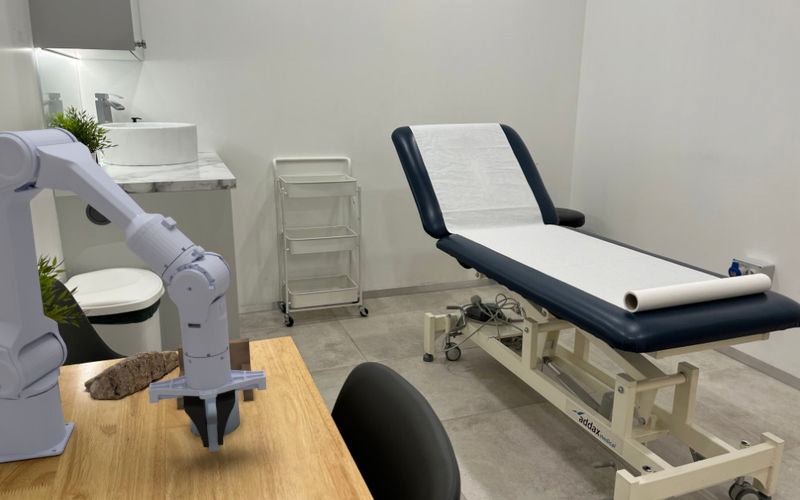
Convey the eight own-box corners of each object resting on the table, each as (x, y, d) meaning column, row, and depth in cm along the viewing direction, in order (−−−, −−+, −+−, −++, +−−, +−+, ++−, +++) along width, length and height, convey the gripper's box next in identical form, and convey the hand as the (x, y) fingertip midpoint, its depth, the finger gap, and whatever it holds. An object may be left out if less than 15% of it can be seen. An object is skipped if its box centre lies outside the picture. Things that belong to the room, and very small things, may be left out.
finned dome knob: (187, 465, 80) (183, 421, 78) (192, 415, 92) (188, 377, 90) (241, 457, 82) (238, 414, 80) (239, 409, 94) (236, 371, 92)
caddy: (177, 409, 94) (174, 368, 92) (181, 382, 102) (178, 344, 101) (253, 400, 97) (251, 360, 95) (251, 375, 105) (248, 338, 104)
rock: (122, 406, 95) (117, 373, 94) (70, 396, 98) (65, 363, 97) (182, 366, 109) (180, 336, 108) (136, 358, 112) (133, 329, 111)
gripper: (141, 368, 72) (152, 467, 75) (265, 355, 76) (270, 450, 79) (148, 345, 78) (158, 437, 82) (262, 334, 82) (267, 423, 85)
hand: (213, 442), depth 81 cm, fingers closed on finned dome knob
